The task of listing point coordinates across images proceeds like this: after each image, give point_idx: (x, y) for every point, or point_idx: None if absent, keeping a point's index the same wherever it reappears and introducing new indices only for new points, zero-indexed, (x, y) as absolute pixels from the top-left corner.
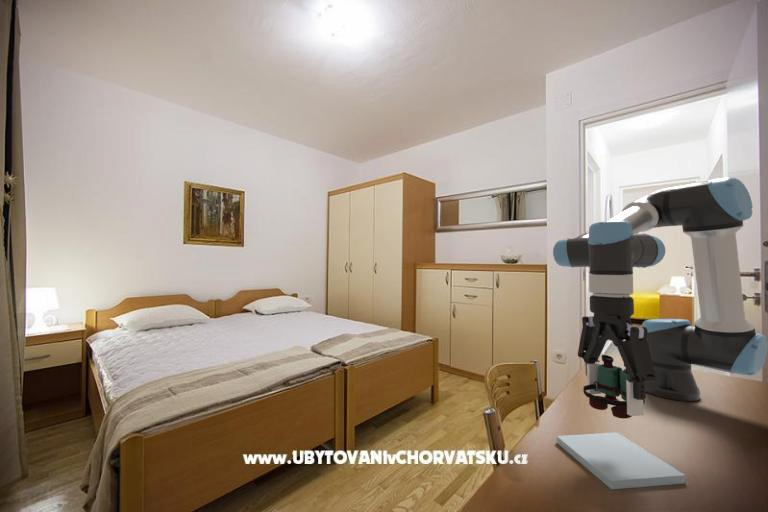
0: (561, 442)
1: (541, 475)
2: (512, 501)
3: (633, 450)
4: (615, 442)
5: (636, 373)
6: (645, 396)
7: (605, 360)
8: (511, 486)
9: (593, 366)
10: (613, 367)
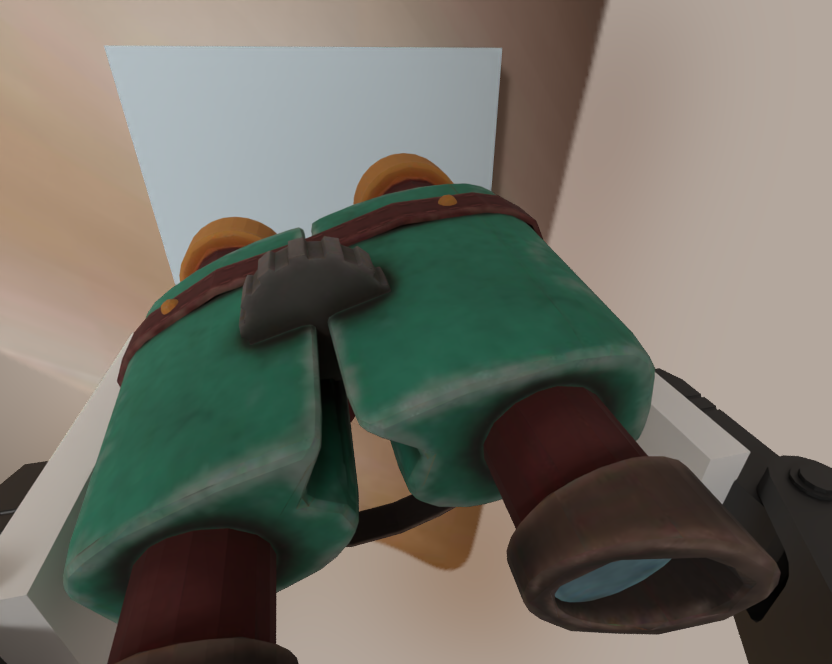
0: None
1: (395, 470)
2: (466, 535)
3: (312, 120)
4: (238, 155)
5: (601, 388)
6: (689, 386)
7: None
8: (425, 530)
9: (89, 630)
10: (277, 531)
